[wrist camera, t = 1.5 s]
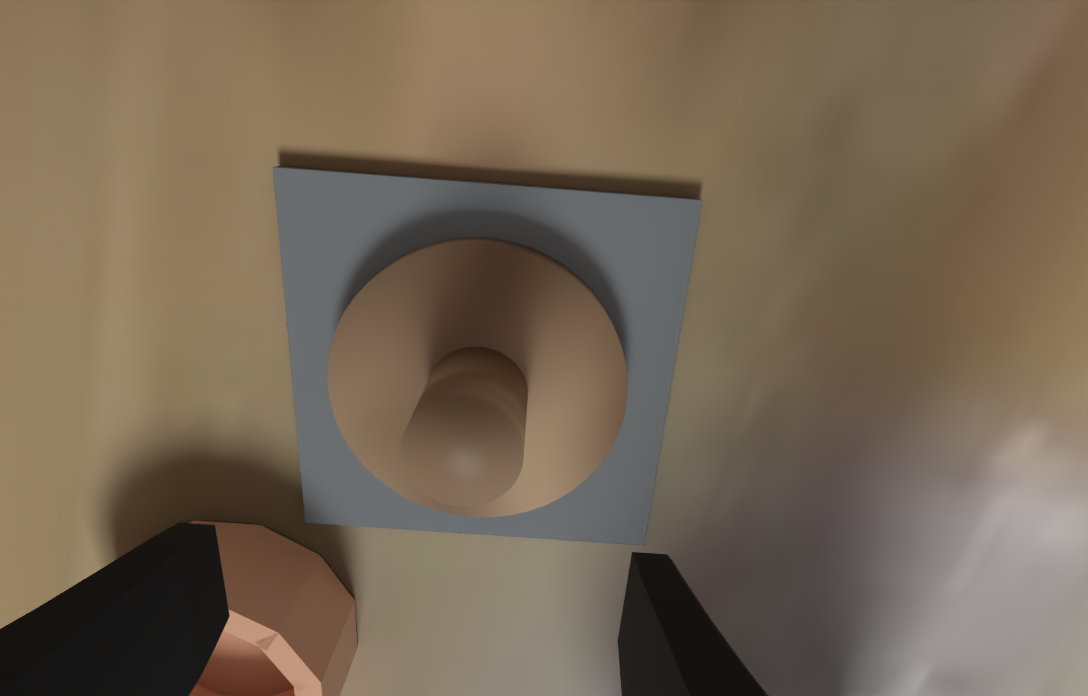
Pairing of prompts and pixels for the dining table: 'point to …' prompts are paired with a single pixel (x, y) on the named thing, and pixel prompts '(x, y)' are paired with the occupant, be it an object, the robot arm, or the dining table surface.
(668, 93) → the dining table surface
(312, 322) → the mat
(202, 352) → the dining table surface
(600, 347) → the lid
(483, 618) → the dining table surface
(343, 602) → the bowl
